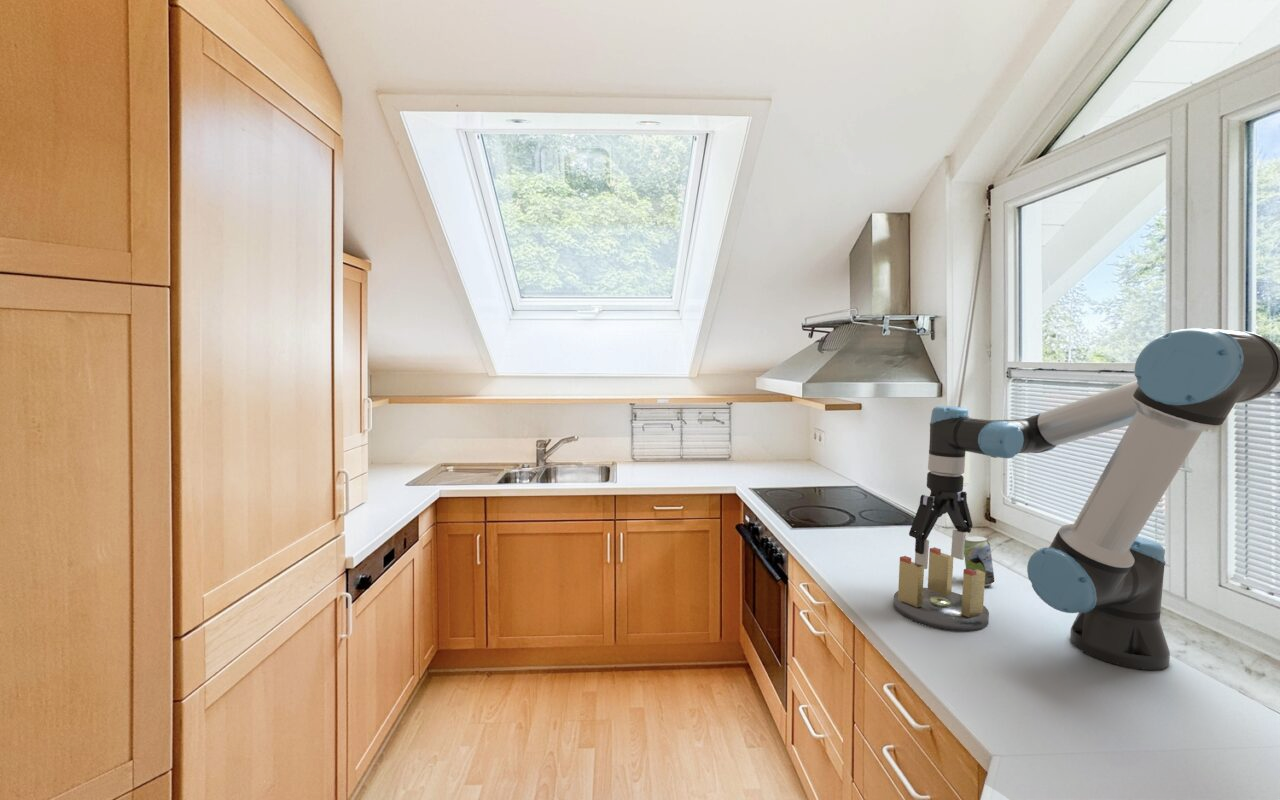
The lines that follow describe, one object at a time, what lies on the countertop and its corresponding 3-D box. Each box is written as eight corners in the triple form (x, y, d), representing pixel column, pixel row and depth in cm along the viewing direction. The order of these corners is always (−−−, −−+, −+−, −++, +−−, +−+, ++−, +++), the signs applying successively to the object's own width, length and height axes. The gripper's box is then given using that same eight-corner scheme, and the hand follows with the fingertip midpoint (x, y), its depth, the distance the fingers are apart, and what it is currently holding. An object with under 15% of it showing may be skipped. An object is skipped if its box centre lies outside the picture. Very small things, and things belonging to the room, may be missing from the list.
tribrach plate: (1007, 620, 129) (1007, 607, 129) (953, 639, 120) (954, 625, 119) (927, 590, 145) (928, 578, 145) (875, 604, 136) (876, 592, 136)
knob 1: (922, 605, 130) (924, 562, 130) (916, 607, 129) (919, 563, 129) (903, 598, 134) (905, 555, 134) (897, 599, 134) (899, 557, 133)
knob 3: (974, 610, 129) (977, 565, 128) (982, 613, 127) (985, 568, 126) (961, 614, 126) (963, 569, 126) (969, 617, 125) (971, 572, 124)
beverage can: (998, 589, 147) (1000, 542, 146) (965, 587, 148) (968, 540, 147) (988, 580, 153) (991, 535, 152) (957, 578, 154) (959, 533, 153)
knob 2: (951, 594, 137) (953, 553, 136) (946, 596, 136) (948, 554, 135) (932, 587, 141) (934, 547, 141) (927, 588, 140) (929, 548, 140)
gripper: (962, 466, 146) (956, 549, 148) (895, 474, 134) (890, 565, 136) (993, 471, 140) (986, 559, 141) (925, 480, 127) (919, 576, 129)
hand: (939, 562), depth 139 cm, fingers open, 13 cm apart
